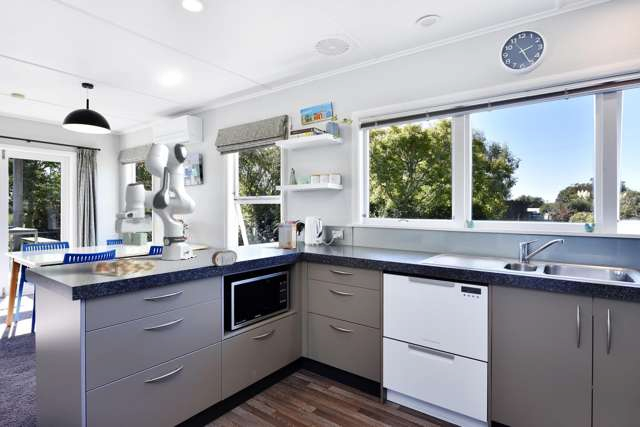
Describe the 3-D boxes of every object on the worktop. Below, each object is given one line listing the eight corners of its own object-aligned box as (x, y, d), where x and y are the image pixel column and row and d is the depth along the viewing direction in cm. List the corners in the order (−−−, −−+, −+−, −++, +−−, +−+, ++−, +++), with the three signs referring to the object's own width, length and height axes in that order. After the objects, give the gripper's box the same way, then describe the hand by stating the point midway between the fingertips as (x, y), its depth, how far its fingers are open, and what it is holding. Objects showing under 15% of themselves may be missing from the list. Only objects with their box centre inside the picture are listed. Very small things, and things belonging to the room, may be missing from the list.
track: (131, 266, 183) (132, 257, 183) (155, 268, 178) (155, 259, 178) (92, 273, 162) (92, 263, 162) (117, 276, 157) (117, 265, 157)
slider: (129, 244, 179) (129, 232, 179) (146, 245, 175) (147, 233, 175) (122, 244, 175) (122, 233, 175) (140, 245, 171) (140, 233, 171)
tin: (234, 263, 197) (234, 249, 197) (237, 264, 195) (237, 249, 195) (211, 266, 186) (211, 251, 186) (214, 267, 184) (214, 251, 184)
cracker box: (296, 249, 280) (296, 223, 280) (292, 249, 275) (292, 223, 275) (282, 247, 287) (283, 223, 287) (278, 248, 282) (278, 223, 282)
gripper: (146, 214, 186) (146, 239, 186) (112, 214, 167) (112, 242, 166) (155, 214, 184) (155, 240, 184) (122, 214, 164) (122, 243, 164)
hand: (134, 241), depth 175 cm, fingers closed on slider, 4 cm apart
